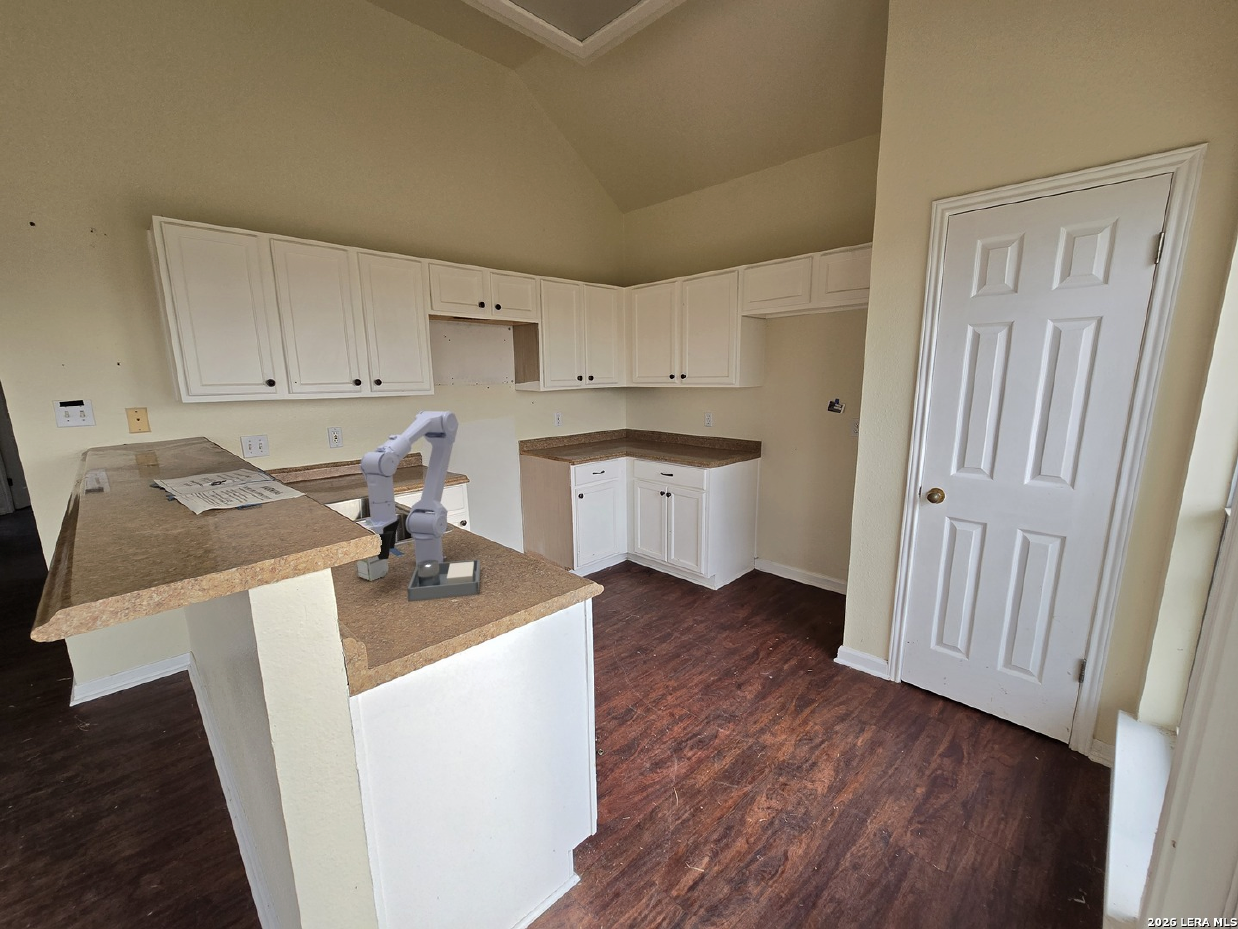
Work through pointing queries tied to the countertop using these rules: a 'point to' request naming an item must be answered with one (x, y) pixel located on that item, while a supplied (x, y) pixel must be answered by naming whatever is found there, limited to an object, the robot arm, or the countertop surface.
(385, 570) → the syrup box
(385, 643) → the countertop surface
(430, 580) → the metal can
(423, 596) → the tote
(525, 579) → the countertop surface
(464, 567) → the block
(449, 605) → the countertop surface
